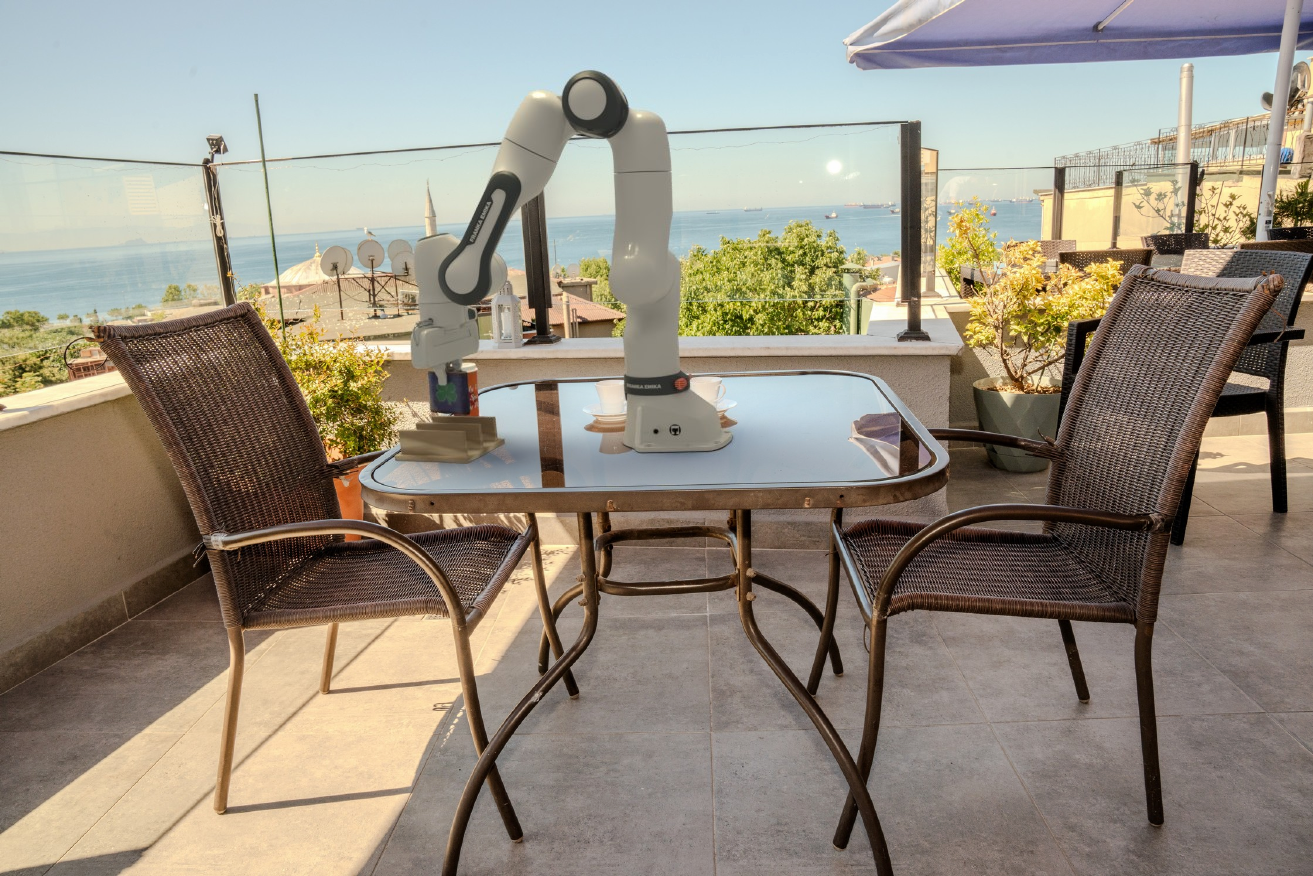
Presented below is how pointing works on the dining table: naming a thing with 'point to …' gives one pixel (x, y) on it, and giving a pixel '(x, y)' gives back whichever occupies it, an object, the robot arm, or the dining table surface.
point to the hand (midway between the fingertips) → (450, 382)
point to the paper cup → (471, 388)
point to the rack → (449, 439)
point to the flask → (449, 392)
